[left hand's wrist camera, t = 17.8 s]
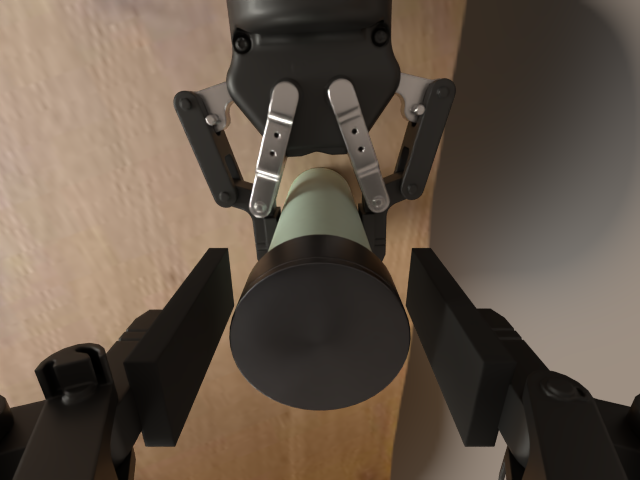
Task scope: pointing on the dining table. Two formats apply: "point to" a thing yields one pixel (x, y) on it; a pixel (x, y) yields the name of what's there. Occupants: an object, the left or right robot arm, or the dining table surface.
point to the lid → (319, 324)
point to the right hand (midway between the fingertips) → (322, 266)
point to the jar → (319, 209)
